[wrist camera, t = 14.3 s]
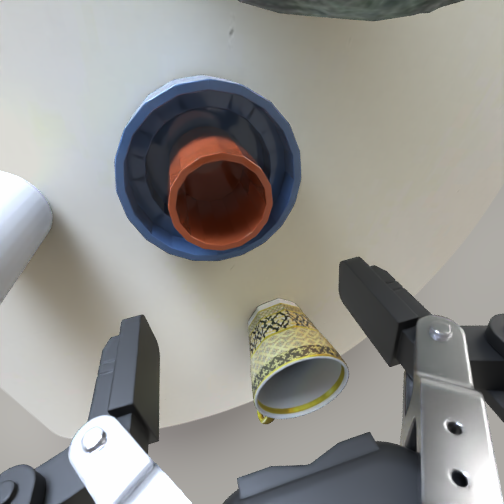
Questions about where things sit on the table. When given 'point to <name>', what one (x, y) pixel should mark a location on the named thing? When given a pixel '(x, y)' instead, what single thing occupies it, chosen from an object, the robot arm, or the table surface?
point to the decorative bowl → (352, 8)
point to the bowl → (179, 122)
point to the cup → (216, 190)
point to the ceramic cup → (291, 363)
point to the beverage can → (20, 227)
